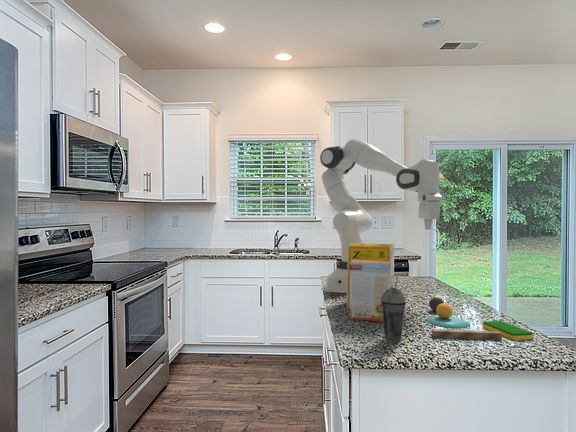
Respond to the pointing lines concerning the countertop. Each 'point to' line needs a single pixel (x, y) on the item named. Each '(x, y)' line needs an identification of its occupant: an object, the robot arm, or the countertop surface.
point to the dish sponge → (508, 330)
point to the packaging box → (370, 258)
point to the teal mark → (448, 322)
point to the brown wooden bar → (466, 334)
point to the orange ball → (444, 311)
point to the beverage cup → (393, 313)
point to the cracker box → (368, 288)
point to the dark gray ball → (435, 303)
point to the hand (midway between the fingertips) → (428, 229)
